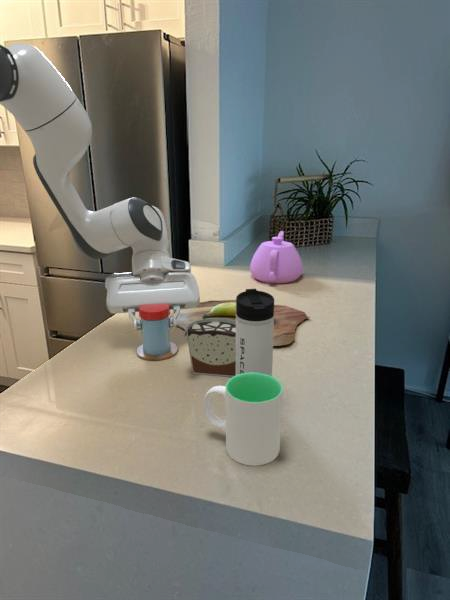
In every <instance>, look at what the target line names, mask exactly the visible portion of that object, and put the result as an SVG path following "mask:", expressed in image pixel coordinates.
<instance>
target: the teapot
mask: <svg viewBox="0 0 450 600" xmlns="http://www.w3.org/2000/svg"><path fill="white" fill-rule="evenodd" d="M284 234H285V232H284V230H280V231H279V232H278V235H277V236H273V237H271V240H268V241H264V242H262V243H261V244H260V245H259V246H258V247H257V249H256V250H255V252H254V254H253V256H252V258H251V262H250V264H249V271H250V274H251V275H252V276H253V278H255V279H256V280H257V281H259V282H262V283H267V284H288V283H293V282H295V281H297V280H298V279H299V277H300V276H301V275H303V271H304V269H303V268H304V267H303V262H302V259H301V256H300V254H299V252H298V250H297V249H296V247H295V245H294V244H293V243H292V242H290V241H285V240H284V236H285V235H284Z"/></svg>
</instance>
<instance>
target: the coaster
mask: <svg viewBox="0 0 450 600" xmlns="http://www.w3.org/2000/svg"><path fill="white" fill-rule="evenodd" d="M170 346H171V349H170V351H169V352H167V353H165V354H162V355H148V354H146V353H144V352H143V343H142V344H140V345H139V346H138V347H137V349H136V355H137V357H138V358H140V359H142V360H144V361H149V362H160V361H165V360H168V359H171V358H173V357H174V356H176V355H177V354H178V352H179V347H178V345H177V344H176V343H174V342H172V341H170Z"/></svg>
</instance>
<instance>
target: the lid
mask: <svg viewBox="0 0 450 600" xmlns="http://www.w3.org/2000/svg"><path fill="white" fill-rule="evenodd" d="M170 315H171V310H170V309H169V305H168V304H167V303H163V304H148V305H140V307H139V312H138V316H139V318H140V319H141V318H142V319H145V320H160V319H164V318H166V317H168V316H169V317H170Z"/></svg>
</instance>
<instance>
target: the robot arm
mask: <svg viewBox="0 0 450 600" xmlns="http://www.w3.org/2000/svg"><path fill="white" fill-rule="evenodd" d="M0 105H1V106H2V107H3V108H5V109H6V111H8V112H9V113H10V114H12V116H13V117H14V119H15V120H16V122H17V123H18V124H19V126H20V127H21V128H22V130H23V131H24V132H25V133H26V135H27V136H28V139H29V140H30V142H31V144H32V146H33V149H34V152H35V153H34V155H33V157H32V164H33V168H34V171H35V173H36V175H37V177H38V179H39V180H40V182H41V184H42V186H43V188H44V190H45V191H46V193H47V195H48V196H49V198H50V199H51V201H52V203H53V205H54V206H55V208H56V210H57V211H58V212H59V214H60V216H61V217H62V219H63V221H64V223H65V224H66V226H67V227H68V229H69V232H70V234H71V236H72V239H73V241H74V243H75V245H76V247H77V249H78V250H79V251H80V252H81V253H82V254H83V255H85V256H87V257H89V258H91V259H94V260H101V259H104V258H105V257H107V256H110V255H112V254H113V253H116V252H119V251H121V250H124V249H128V248H131V249H132V255H131V272H121V273H120V272H119V273H118V272H114V273H111V274H110V275H108V276H106V278H105V281H104V288H105V290H106V297H105V298H106V299H105V301H106V302H105V303H106V304H105V305H106V309H107V311H108V312H109V313H110V314H113V315H115V314H128V318H129V319H130V320H131V322H132V323H133V327H134V328H133V329H134V331H142V330H141V319H137V318H136V313H139V307H140V305H148V304H163V303H167V304H168V305H169V309H170V311H173V314H174V316H173V317H172V318H170V317H169V327H170V329H172V328H177V325H176V320H177V318H178V316H179V314H180V309H190V308H197V306H198V305H199V303H201V302H200V301H201V296H200V290H199V285H198V281H197V279H196V277H195V276H194V274H193V273H192V267H191V263H190V262H189V261H186V260H181V259H177V258H173V257H171V255H170V253H169V246H170V239H169V232H168V226H167V221H166V219H165V215H164V213H163V212H162V211H161V209H159V208H158V207H156V206H154V205H151V204H150V203H148V202H147V201H145V200H143V199H141V198H140V197H135V196H133V197H130V198H126V199H124V200H121V201H118V202H115V203H113V204H112V205H109V206H106V207H104V208H101V209H99V210H95V211H92V210H89V209H87V207H86V206H85V204H84V202H83V200H82V198H81V197H80V195H79V193H78V191H77V189H76V188H75V187H74V185H73V182H72V180H71V177H70V173H71V171H72V170H73V169H74V167H76V165H78V163H79V162H80V160H82V158H83V157H84V155H85V154H86V152H87V151H88V149H89V146H90V144H91V141H92V139H93V138H92V137H93V126H92V125H93V124H92V121H91V119H90V117H89V115H88V112H87V111H86V109H85V107H84V106H83V104H82V102H81V101H80V100H79V98H78V96H77V95H76V94H75V92H74V91H73V89H72V88H71V86H70V85H69V83H68V82H67V81H66V79H65V78H64V77H63V76H62V74H61V73H60V72H59V71H58V70H57V68H56V67H55V66H54V65H53V64H52V62H51V61H50V60H49V59H48V58H47V57H46V56H45V55H44V53H43V52H42V51H40V50H39V49H38V48H37V47H36V46H34V45H32V44H29V43H24V42H23V43H21V42H19V43H12V44H9V45H6V46H5V45H2V44H0Z"/></svg>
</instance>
